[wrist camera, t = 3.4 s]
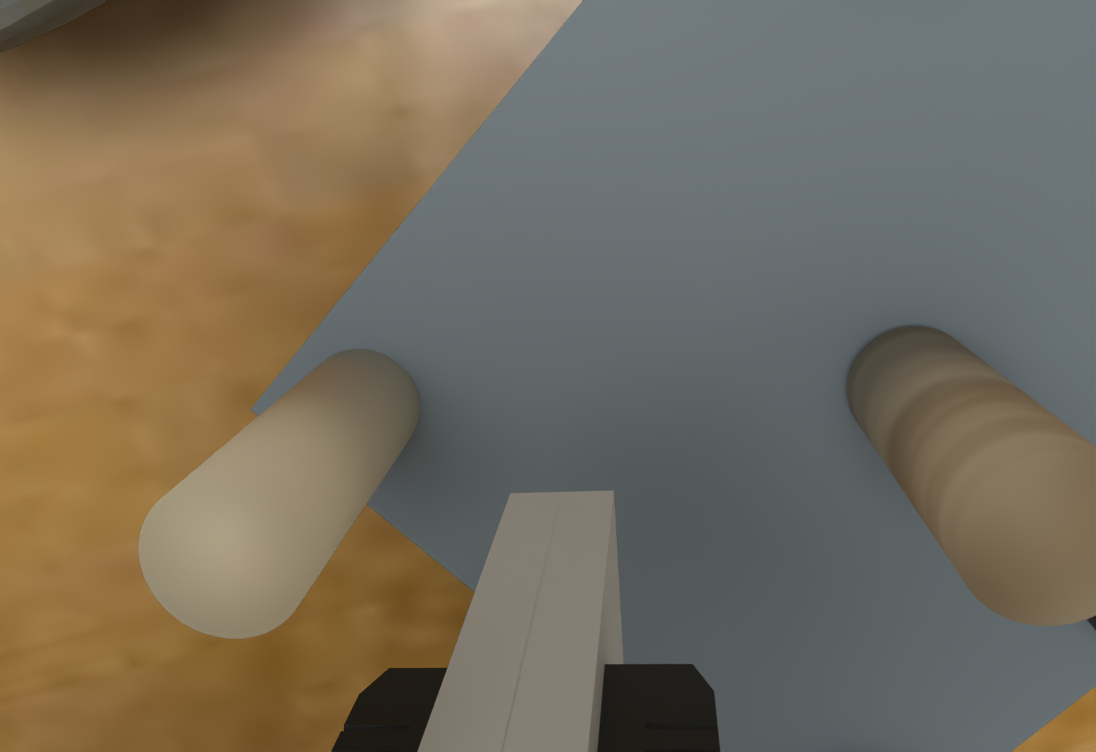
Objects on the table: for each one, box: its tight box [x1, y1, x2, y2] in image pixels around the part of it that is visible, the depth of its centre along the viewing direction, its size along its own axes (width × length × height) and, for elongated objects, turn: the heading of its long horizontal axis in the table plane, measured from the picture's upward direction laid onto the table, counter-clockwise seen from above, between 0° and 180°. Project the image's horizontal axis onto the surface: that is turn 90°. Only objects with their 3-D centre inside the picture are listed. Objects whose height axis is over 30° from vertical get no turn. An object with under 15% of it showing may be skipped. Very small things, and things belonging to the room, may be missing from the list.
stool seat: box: [139, 0, 1096, 752], centre depth 19 cm, size 20×20×11 cm
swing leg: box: [847, 326, 1096, 630], centre depth 18 cm, size 10×3×8 cm, turn 49°
